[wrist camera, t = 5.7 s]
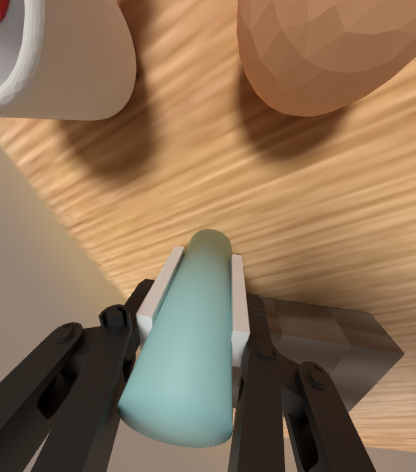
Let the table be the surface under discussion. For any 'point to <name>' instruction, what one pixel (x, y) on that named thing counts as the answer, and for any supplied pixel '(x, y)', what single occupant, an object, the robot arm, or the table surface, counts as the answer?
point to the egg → (323, 50)
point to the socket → (330, 345)
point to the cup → (64, 59)
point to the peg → (188, 354)
